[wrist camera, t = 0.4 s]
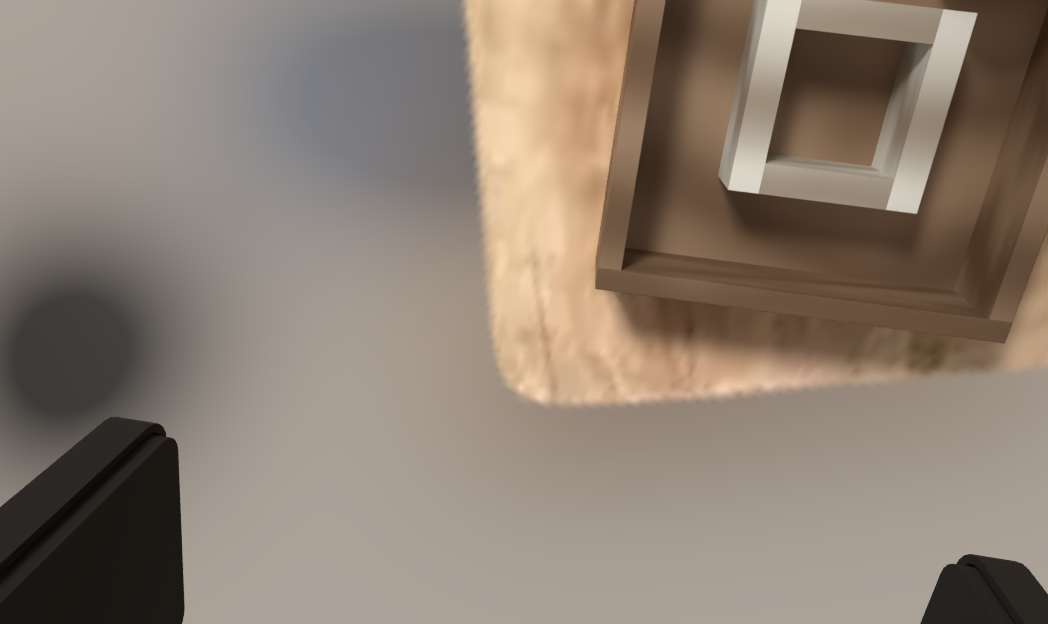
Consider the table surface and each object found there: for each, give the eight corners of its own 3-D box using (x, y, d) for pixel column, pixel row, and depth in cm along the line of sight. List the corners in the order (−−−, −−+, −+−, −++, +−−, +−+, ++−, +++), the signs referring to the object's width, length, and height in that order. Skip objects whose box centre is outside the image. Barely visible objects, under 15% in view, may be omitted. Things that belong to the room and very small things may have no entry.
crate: (665, -209, 32) (676, -242, 28) (1119, -161, 31) (1201, -188, 27) (595, 258, 39) (595, 288, 35) (960, 306, 38) (1004, 343, 34)
